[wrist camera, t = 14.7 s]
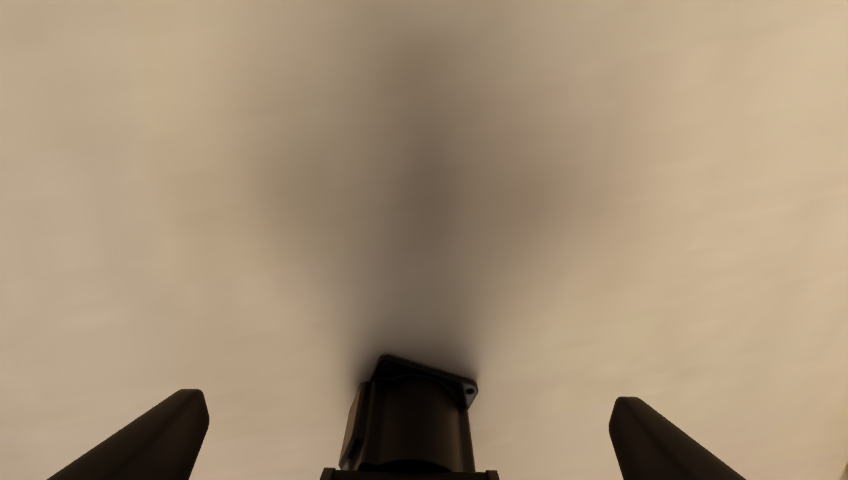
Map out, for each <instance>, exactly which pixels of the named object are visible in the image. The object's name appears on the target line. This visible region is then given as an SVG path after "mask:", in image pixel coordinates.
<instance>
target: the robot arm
mask: <svg viewBox="0 0 848 480" xmlns="http://www.w3.org/2000/svg"><path fill="white" fill-rule="evenodd" d="M384 362H387V363H389V364H383V363H384ZM468 388H472V389H470V390H469V389H468ZM477 394H478V386H477V383H476V382H474V381H472V380H469V379H466V378H462V377H459V376H456V375H453V374H449V373H446V372H443V371H440V370H436V369H433V368H430V367H427V366H423V365H420V364H417V363H414V362H410V361H407V360H404V359H401V358H397V357H394V356H391V355H382V356H380V357H379V359H378V361H377V363H376V365H375V368H374V370H373V372H372V375H371V377H370V379H369V381H364V382H362V383H361V385H360V387H359V390H358V392H357V394H356V397H355V399H354V401H353V404H352V406H351V408H350V412H349V416H348V421H347V426H346V431H345V436H344V441H343V445H342V450H341V455H340V460H339V467H340V469H341V470H335V468H324V469H323V472H322V475H321V478H320V480H499V476H498V473H497V471H496V470H486V472H476V471H475V463H474V455H473V448H472V440H471V432H470V424H469V417H468V409H469V407H470V405H471V404H472V402H473V400H474V399H475V397H476V395H477ZM208 426H209V414H208V410H207V406H206V402H205V398H204V395H203V392H202V391H201V390H199V389H181V390H179V391H177V392H175V393H174V394H172V395H171V396H169V397H168V398H166V399H165V400H164V401H162V402H161V403H159V404H158V405H156V406H155V407H153V408H152V409H150V410H149V411H147V412H146V413H144V414H143V415H141V416H140V417H138V418H137V419H135V420H134V421H133V422H131V423H130V424H128V425H127V426H125V427H124V428H122V429H121V430H119V431H118V432H116V433H115V434H113V435H112V436H110V437H109V438H107V439H106V440H104V441H103V442H102V443H100V444H99V445H97V446H96V447H94V448H93V449H91V450H90V451H88V452H87V453H85V454H84V455H82V456H81V457H79V458H78V459H76V460H75V461H73V462H72V463H70V464H69V465H68V466H66V467H65V468H63V469H62V470H60V471H59V472H57V473H56V474H54V475H53V476H51V477H50V478H48V479H47V480H189V477H190V475H191V472H192V469H193V467H194V464H195V461H196V459H197V456H198V453H199V451H200V448H201V446H202V443H203V440H204V438H205V435H206V432H207V430H208ZM609 434H610V437H611V441H612V444H613V447H614V450H615V453H616V457H617V460H618V463H619V466H620V470H621V473H622V476H623V479H624V480H746V479H745V478H743V477H742V476H741V475H739V474H738V473H737V472H735V471H734V470H733V469H732V468H730V467H729V466H728V465H726V464H725V463H724V462H722V461H721V460H720V459H718V458H717V457H716V456H714V455H713V454H712V453H711V452H709V451H708V450H707V449H705V448H704V447H703V446H701V445H700V444H699V443H697V442H696V441H695V440H693V439H692V438H691V437H690V436H688V435H687V434H686V433H684V432H683V431H682V430H680V429H679V428H678V427H676V426H675V425H674V424H673V423H671V422H670V421H669V420H667V419H666V418H665V417H663V416H662V415H661V414H659V413H658V412H657V411H655V410H654V409H653V408H652V407H650V406H649V405H648V404H646V403H645V402H644V401H642V400H641V399H639V398H637V397H618V398H617V399H616V401H615V405H614V408H613V411H612V415H611V418H610V422H609Z"/></svg>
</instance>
